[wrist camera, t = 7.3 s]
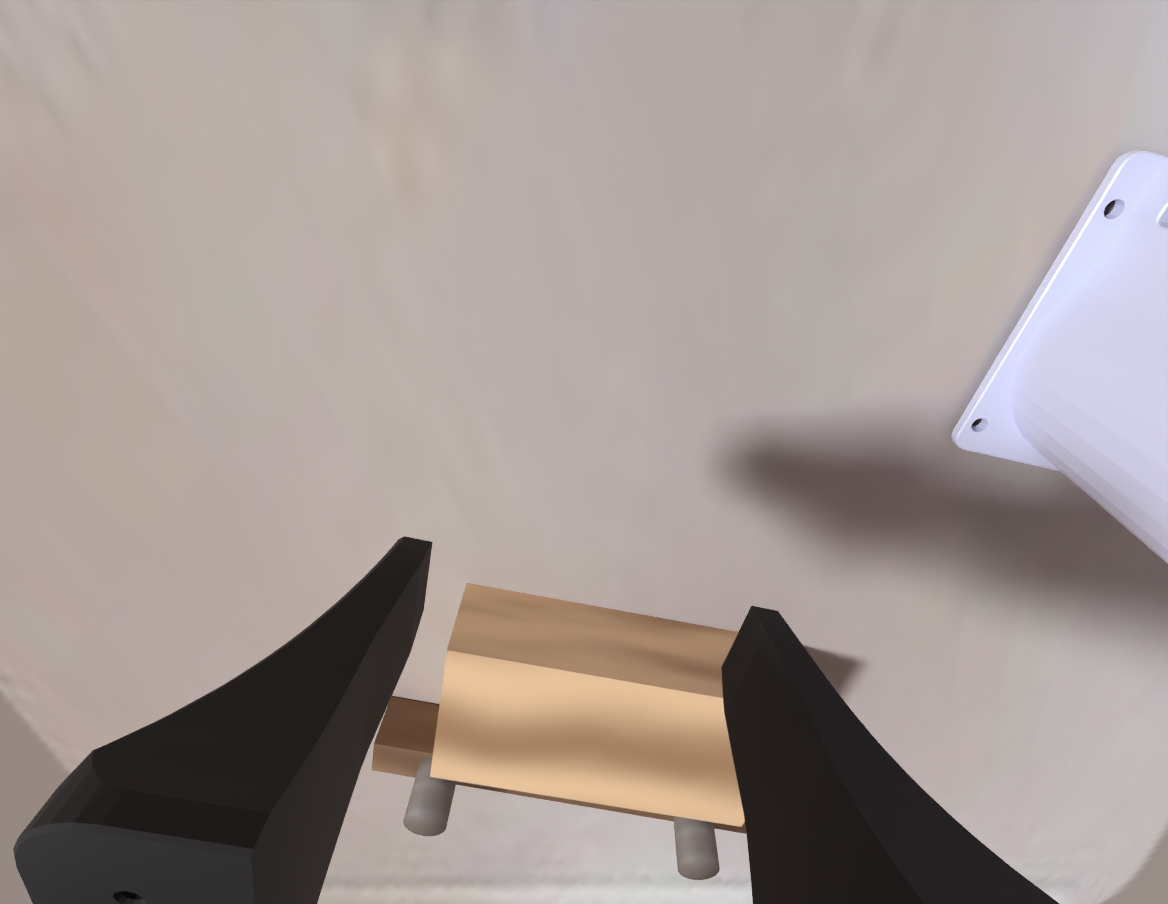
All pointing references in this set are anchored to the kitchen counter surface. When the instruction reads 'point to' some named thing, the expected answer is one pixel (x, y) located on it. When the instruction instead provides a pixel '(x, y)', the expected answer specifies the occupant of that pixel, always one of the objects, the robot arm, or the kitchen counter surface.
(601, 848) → the kitchen counter surface
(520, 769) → the wooden block
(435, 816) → the bar
